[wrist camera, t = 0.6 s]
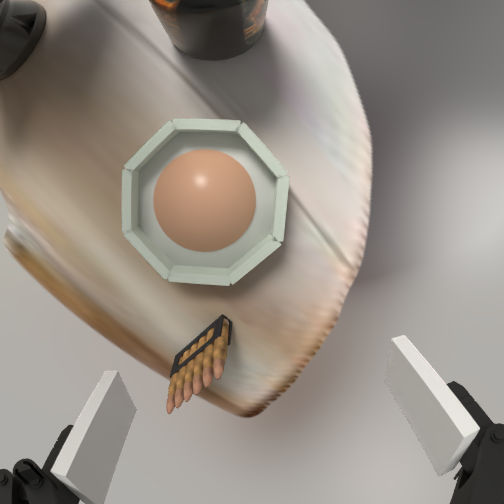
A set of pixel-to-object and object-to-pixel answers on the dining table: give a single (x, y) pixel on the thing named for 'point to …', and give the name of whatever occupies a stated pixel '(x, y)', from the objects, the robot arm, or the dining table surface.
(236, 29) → the jar
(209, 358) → the ammunition clip
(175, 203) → the octagonal tray
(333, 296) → the dining table surface
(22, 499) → the robot arm
